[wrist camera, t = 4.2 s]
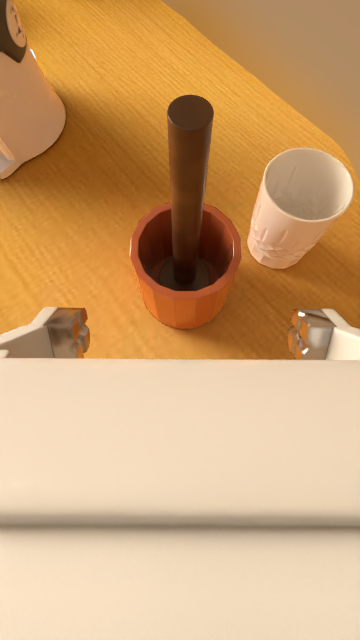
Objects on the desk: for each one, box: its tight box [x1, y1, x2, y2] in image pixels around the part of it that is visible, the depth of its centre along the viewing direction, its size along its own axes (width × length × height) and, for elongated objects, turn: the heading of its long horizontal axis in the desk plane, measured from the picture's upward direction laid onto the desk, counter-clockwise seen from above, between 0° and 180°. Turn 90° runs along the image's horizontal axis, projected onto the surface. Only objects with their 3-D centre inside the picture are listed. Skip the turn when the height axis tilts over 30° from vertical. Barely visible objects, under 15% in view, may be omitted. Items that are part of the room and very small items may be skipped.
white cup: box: [247, 148, 354, 269], centre depth 32 cm, size 8×8×10 cm
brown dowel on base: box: [159, 95, 214, 291], centre depth 25 cm, size 5×5×21 cm
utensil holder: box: [130, 202, 242, 329], centre depth 31 cm, size 9×9×9 cm
